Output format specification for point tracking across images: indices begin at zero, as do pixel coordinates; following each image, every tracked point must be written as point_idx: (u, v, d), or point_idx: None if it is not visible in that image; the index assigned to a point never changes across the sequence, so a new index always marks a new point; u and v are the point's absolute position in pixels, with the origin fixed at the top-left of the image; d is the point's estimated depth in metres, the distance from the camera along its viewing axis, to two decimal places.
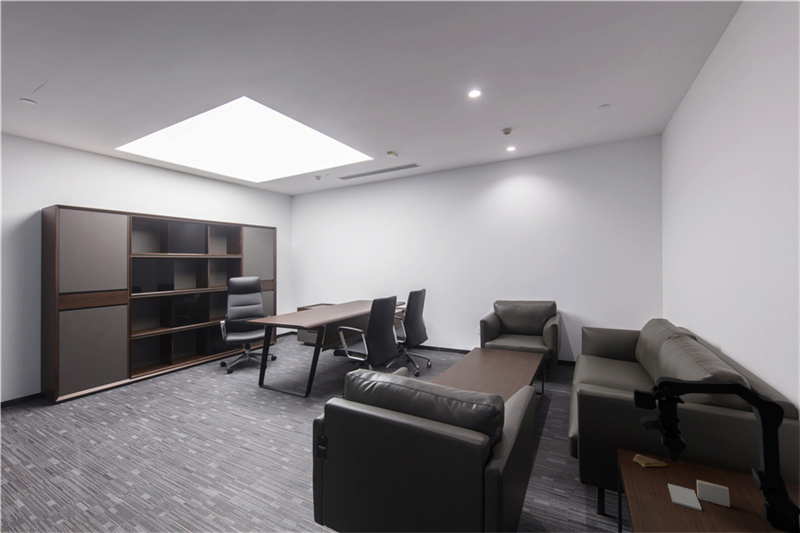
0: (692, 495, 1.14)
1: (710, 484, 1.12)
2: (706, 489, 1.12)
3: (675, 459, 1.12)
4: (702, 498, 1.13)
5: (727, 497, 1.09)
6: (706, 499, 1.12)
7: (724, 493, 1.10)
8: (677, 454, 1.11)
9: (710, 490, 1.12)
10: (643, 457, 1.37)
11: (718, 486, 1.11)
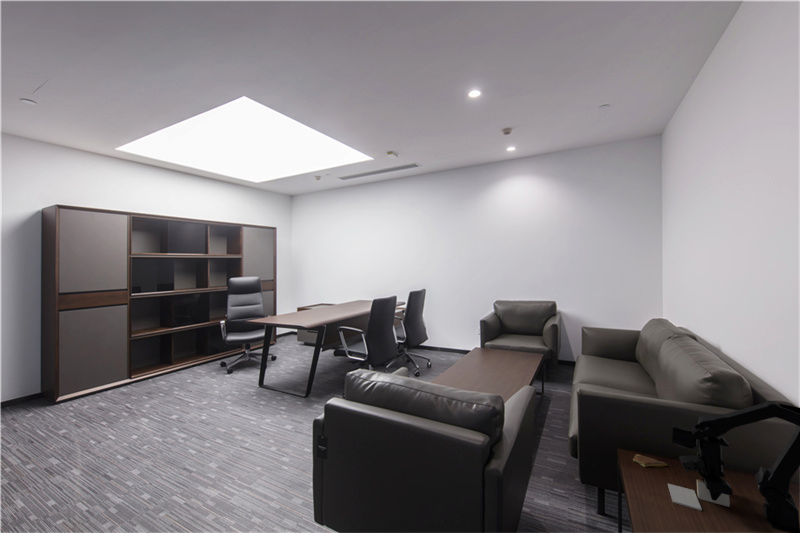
0: (692, 495, 1.14)
1: None
2: (706, 489, 1.12)
3: (716, 497, 1.10)
4: (702, 498, 1.13)
5: (727, 497, 1.09)
6: (706, 499, 1.12)
7: None
8: (718, 493, 1.10)
9: None
10: (643, 457, 1.37)
11: None
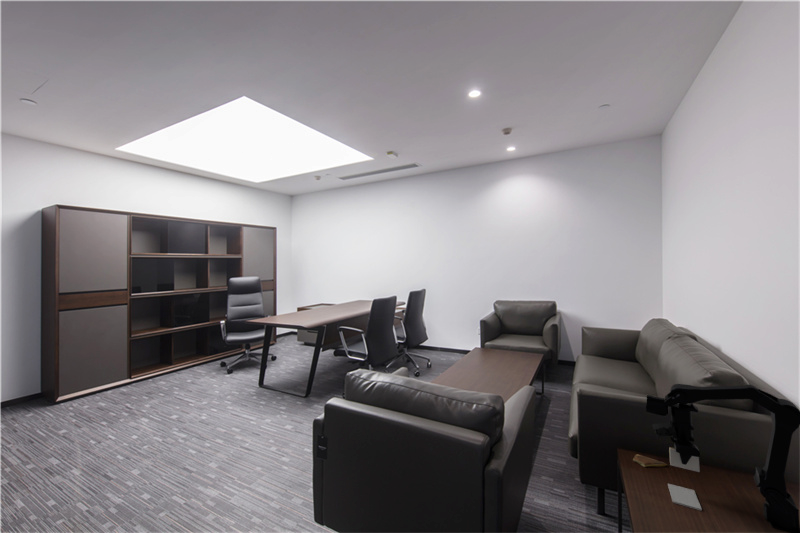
0: (692, 495, 1.14)
1: None
2: (678, 456, 1.17)
3: (686, 461, 1.15)
4: (674, 464, 1.18)
5: (697, 462, 1.14)
6: (678, 465, 1.17)
7: (694, 459, 1.14)
8: (687, 457, 1.14)
9: None
10: (643, 457, 1.37)
11: None
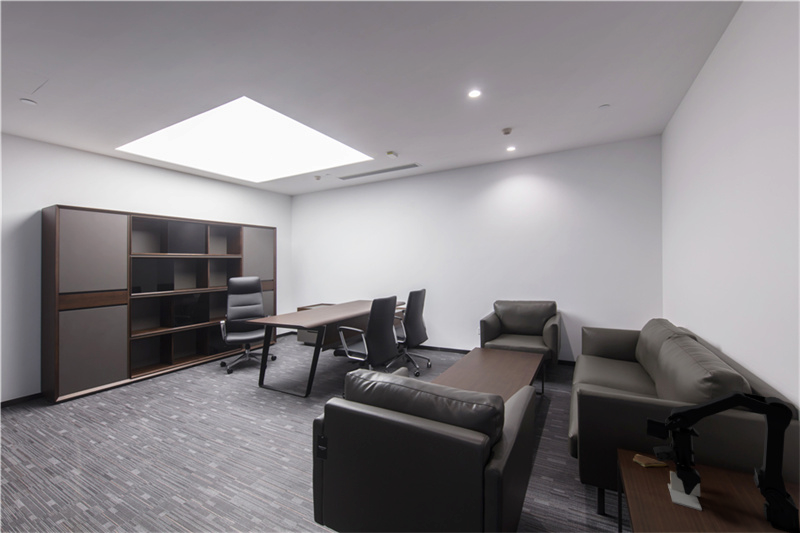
0: (692, 495, 1.14)
1: None
2: (678, 479, 1.17)
3: (689, 491, 1.12)
4: (675, 488, 1.17)
5: (698, 487, 1.14)
6: (679, 489, 1.17)
7: None
8: (691, 487, 1.11)
9: None
10: (643, 457, 1.37)
11: None
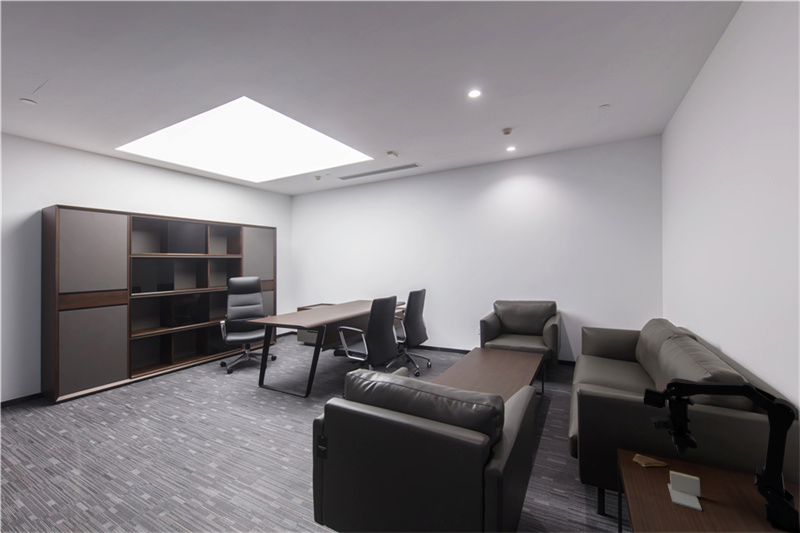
0: (692, 495, 1.14)
1: (682, 475, 1.17)
2: (678, 479, 1.17)
3: (682, 452, 1.19)
4: (675, 488, 1.17)
5: (698, 487, 1.14)
6: (679, 489, 1.17)
7: (695, 483, 1.14)
8: (684, 448, 1.18)
9: (682, 480, 1.16)
10: (643, 457, 1.37)
11: (689, 476, 1.15)
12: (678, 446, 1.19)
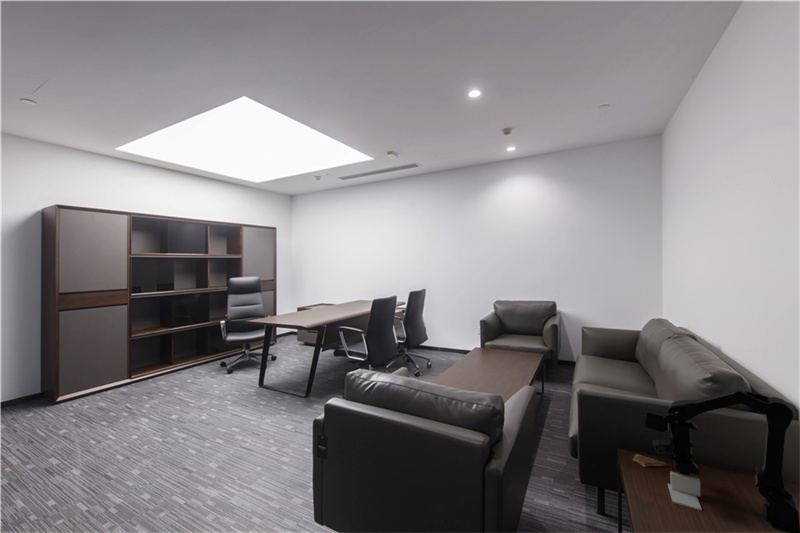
0: (692, 495, 1.14)
1: (683, 476, 1.16)
2: (679, 480, 1.16)
3: None
4: (675, 488, 1.17)
5: (698, 488, 1.14)
6: (679, 489, 1.17)
7: (695, 484, 1.14)
8: (686, 473, 1.16)
9: (682, 481, 1.16)
10: (643, 457, 1.37)
11: (690, 477, 1.15)
12: (681, 471, 1.17)
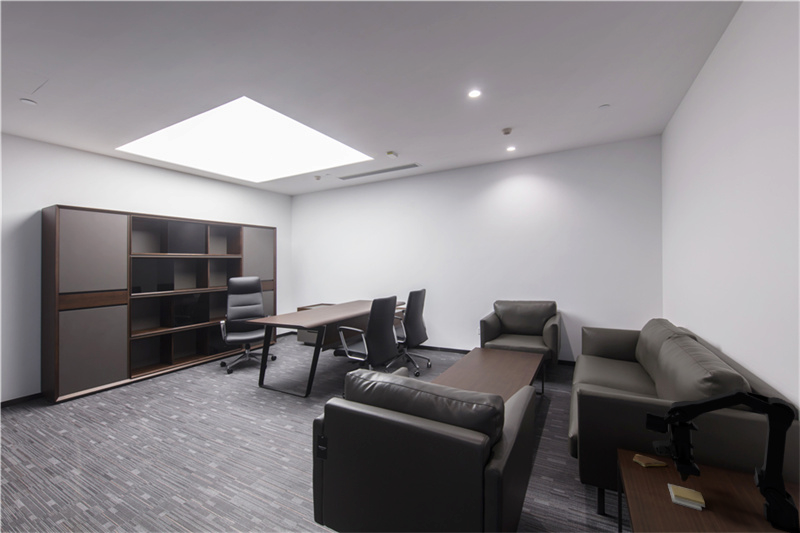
0: None
1: (687, 500, 1.11)
2: None
3: (685, 478, 1.16)
4: None
5: None
6: None
7: None
8: (687, 474, 1.16)
9: None
10: (643, 457, 1.37)
11: (694, 503, 1.10)
12: (681, 472, 1.16)
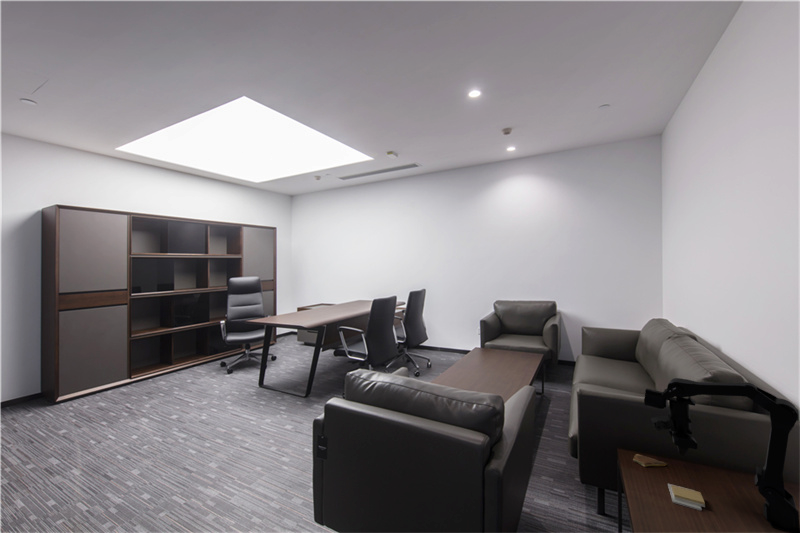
0: None
1: (687, 500, 1.11)
2: None
3: (683, 453, 1.18)
4: None
5: None
6: None
7: None
8: (685, 448, 1.17)
9: None
10: (643, 457, 1.37)
11: (694, 503, 1.10)
12: (679, 447, 1.18)
